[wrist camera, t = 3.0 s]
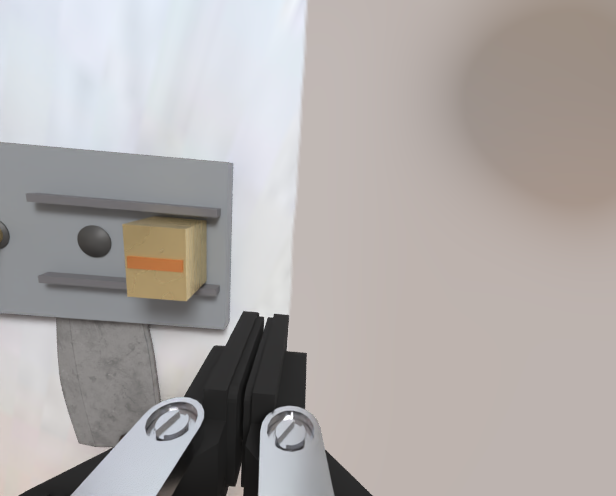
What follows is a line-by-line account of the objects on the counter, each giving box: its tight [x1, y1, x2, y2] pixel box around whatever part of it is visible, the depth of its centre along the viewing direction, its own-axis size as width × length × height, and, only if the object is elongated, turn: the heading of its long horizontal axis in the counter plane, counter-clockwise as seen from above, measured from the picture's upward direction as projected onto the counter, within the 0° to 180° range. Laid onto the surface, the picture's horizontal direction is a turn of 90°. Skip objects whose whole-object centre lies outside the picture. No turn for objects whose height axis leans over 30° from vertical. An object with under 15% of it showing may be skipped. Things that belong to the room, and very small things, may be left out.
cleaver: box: [56, 317, 160, 447], centre depth 28 cm, size 29×10×2 cm, turn 2°
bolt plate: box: [0, 142, 233, 330], centre depth 21 cm, size 14×21×6 cm, turn 85°
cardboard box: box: [122, 216, 207, 301], centre depth 21 cm, size 5×4×4 cm
